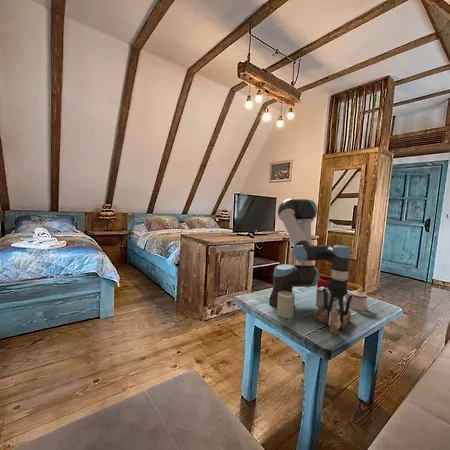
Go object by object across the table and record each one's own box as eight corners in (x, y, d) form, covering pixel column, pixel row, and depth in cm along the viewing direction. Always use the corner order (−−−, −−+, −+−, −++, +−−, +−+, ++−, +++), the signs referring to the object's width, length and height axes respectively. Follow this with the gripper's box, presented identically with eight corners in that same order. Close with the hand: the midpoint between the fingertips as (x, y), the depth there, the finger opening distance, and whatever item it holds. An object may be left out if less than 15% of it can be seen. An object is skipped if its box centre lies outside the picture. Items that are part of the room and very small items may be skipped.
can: (282, 309, 142) (284, 288, 140) (296, 315, 135) (298, 294, 134) (272, 313, 136) (274, 292, 134) (287, 319, 129) (288, 297, 128)
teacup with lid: (368, 309, 147) (370, 290, 146) (362, 313, 141) (364, 293, 140) (347, 302, 156) (349, 284, 155) (341, 305, 150) (343, 287, 149)
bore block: (314, 320, 129) (315, 311, 128) (323, 312, 140) (323, 303, 139) (343, 330, 120) (344, 321, 120) (350, 320, 131) (350, 311, 130)
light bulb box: (337, 308, 145) (339, 291, 144) (332, 311, 141) (334, 293, 140) (320, 302, 153) (322, 285, 152) (315, 305, 149) (316, 288, 148)
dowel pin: (328, 332, 118) (330, 308, 117) (331, 329, 121) (333, 306, 119) (336, 335, 116) (338, 311, 114) (338, 332, 118) (341, 308, 117)
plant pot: (328, 300, 157) (329, 282, 156) (311, 293, 168) (313, 276, 167) (340, 297, 163) (342, 280, 162) (324, 290, 175) (325, 274, 173)
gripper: (318, 275, 118) (314, 322, 120) (356, 284, 107) (351, 335, 110) (323, 272, 123) (319, 317, 126) (359, 280, 113) (354, 328, 116)
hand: (334, 325), depth 118 cm, fingers closed on dowel pin, 3 cm apart
